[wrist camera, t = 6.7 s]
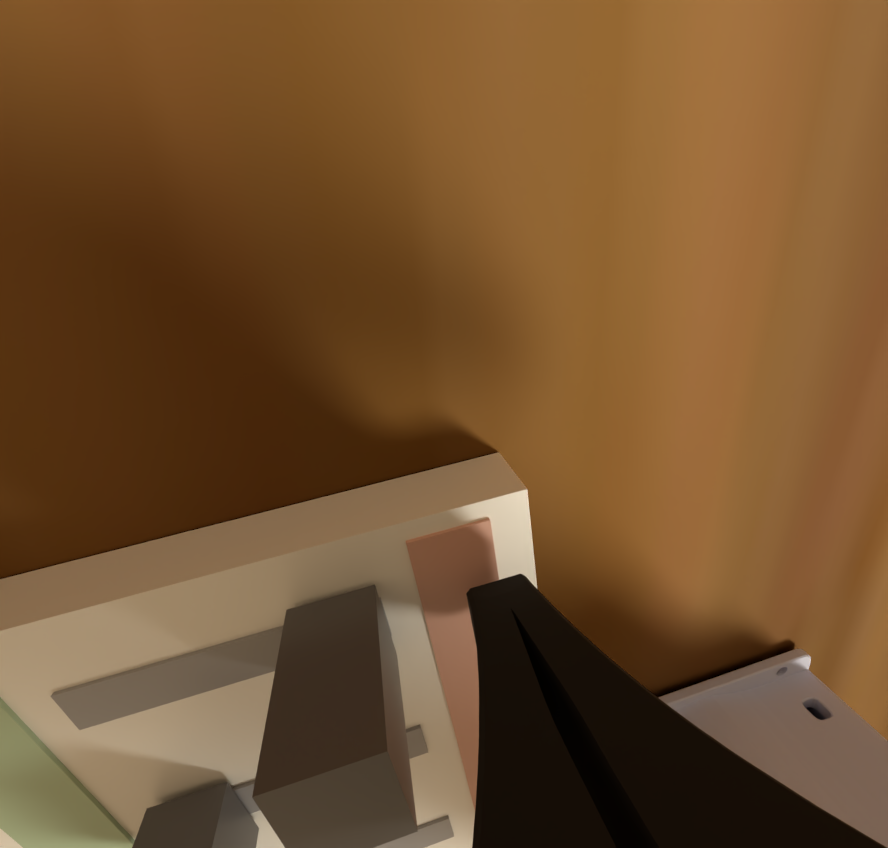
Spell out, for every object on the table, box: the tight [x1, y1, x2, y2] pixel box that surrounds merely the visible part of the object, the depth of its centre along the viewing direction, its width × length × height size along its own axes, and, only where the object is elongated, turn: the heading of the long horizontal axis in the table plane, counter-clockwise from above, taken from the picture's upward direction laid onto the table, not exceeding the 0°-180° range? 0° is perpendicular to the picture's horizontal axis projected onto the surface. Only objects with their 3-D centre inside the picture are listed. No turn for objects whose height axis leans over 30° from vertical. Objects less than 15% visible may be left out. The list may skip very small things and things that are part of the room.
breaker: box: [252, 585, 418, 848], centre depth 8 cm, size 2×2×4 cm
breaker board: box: [0, 452, 537, 848], centre depth 12 cm, size 15×15×2 cm
